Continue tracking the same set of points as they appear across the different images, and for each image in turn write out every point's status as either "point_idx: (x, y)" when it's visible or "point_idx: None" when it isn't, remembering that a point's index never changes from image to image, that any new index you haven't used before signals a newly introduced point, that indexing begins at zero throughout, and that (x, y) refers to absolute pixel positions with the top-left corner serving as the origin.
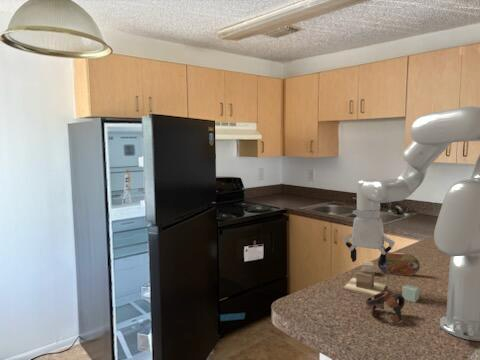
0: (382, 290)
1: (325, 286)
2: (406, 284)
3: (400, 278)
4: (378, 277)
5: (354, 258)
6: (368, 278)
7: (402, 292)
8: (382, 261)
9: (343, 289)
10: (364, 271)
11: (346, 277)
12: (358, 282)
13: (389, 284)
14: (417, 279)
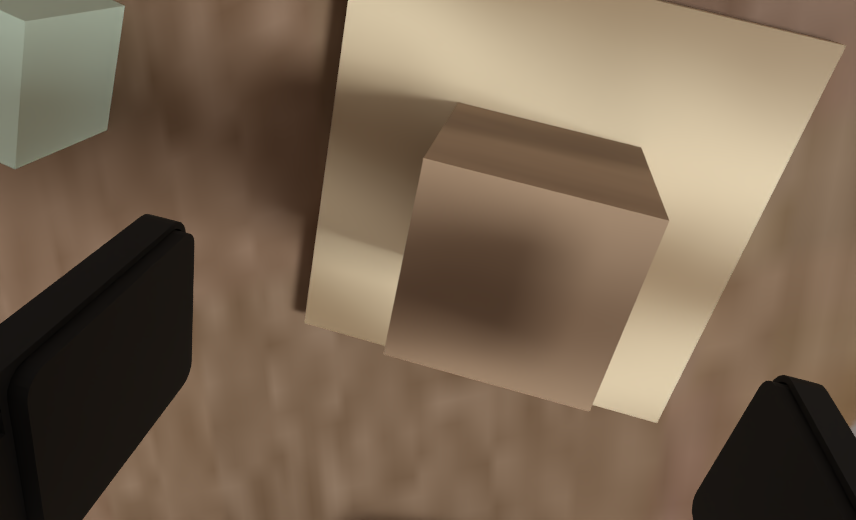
0: (329, 151)
1: None
2: (12, 148)
3: (216, 503)
4: (393, 495)
5: (778, 449)
6: (472, 152)
7: (71, 12)
8: (91, 259)
9: (827, 40)
10: (529, 332)
11: (723, 442)
12: (617, 159)
13: (285, 358)
14: (98, 505)
